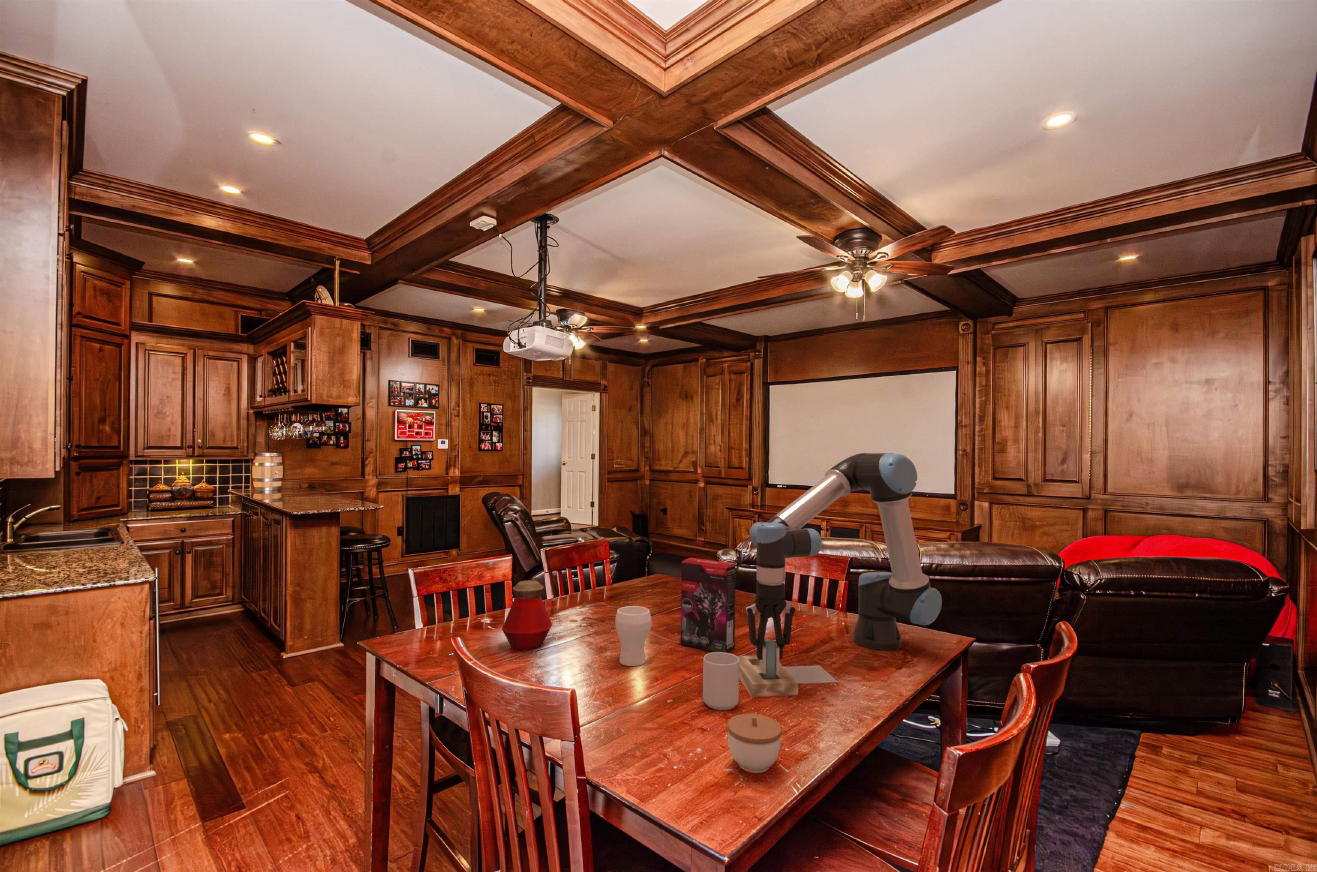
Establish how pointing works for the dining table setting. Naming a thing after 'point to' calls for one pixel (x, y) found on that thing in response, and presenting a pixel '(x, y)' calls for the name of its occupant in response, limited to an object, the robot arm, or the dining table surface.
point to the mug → (721, 680)
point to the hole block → (761, 687)
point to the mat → (810, 674)
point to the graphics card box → (708, 605)
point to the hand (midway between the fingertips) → (769, 671)
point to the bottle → (527, 617)
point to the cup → (632, 633)
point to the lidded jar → (754, 741)
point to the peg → (770, 659)
